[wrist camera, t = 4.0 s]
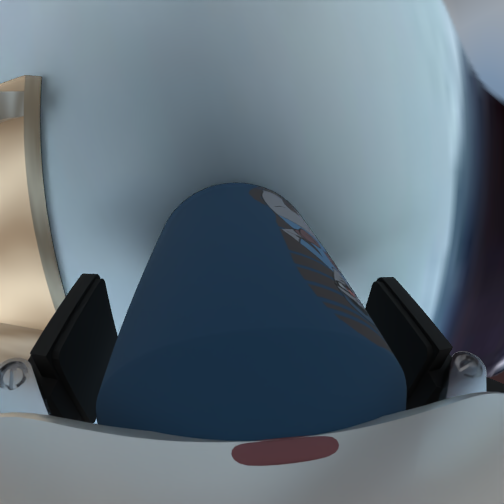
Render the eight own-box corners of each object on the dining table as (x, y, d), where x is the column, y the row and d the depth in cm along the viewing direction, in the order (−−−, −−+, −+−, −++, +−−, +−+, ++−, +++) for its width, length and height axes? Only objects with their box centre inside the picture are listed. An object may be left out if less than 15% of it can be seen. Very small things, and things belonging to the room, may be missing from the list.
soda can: (163, 299, 16) (122, 527, 5) (166, 170, 13) (-1, 396, 2) (289, 307, 17) (354, 519, 6) (316, 186, 14) (510, 383, 3)
